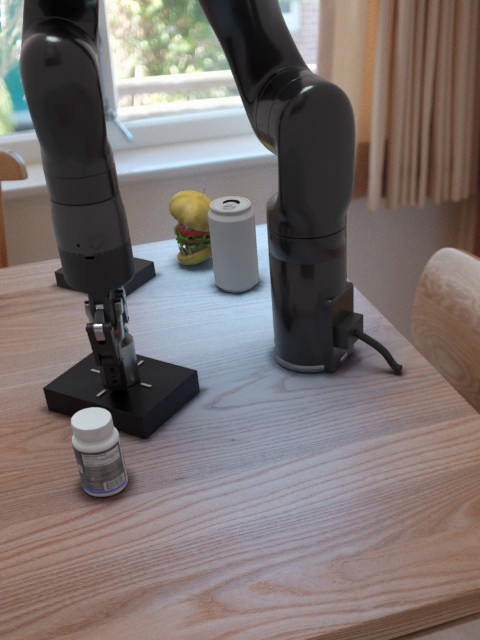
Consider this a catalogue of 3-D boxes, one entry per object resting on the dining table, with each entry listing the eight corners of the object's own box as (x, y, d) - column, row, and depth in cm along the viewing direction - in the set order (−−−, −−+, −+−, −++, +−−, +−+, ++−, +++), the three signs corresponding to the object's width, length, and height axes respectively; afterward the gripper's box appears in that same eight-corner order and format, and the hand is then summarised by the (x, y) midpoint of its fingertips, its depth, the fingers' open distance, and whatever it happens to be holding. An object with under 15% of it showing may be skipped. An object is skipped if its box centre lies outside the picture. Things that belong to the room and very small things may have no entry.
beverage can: (262, 275, 133) (257, 194, 125) (255, 295, 128) (249, 212, 121) (220, 274, 134) (212, 193, 126) (211, 294, 129) (202, 211, 121)
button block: (156, 275, 134) (152, 249, 131) (118, 300, 127) (113, 274, 125) (96, 261, 137) (91, 236, 135) (57, 285, 131) (51, 259, 129)
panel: (200, 391, 109) (197, 368, 107) (146, 439, 101) (141, 416, 99) (106, 365, 114) (102, 343, 112) (48, 409, 106) (42, 386, 104)
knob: (138, 387, 104) (130, 346, 101) (99, 389, 104) (90, 348, 100) (141, 367, 108) (134, 327, 104) (103, 369, 107) (95, 329, 104)
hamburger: (186, 250, 140) (176, 172, 133) (230, 253, 139) (223, 175, 131) (169, 271, 134) (157, 191, 127) (215, 275, 133) (207, 194, 126)
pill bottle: (86, 471, 97) (70, 405, 92) (130, 469, 97) (117, 403, 92) (80, 499, 93) (63, 432, 88) (126, 497, 94) (112, 429, 88)
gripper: (66, 211, 100) (95, 348, 111) (45, 267, 89) (79, 413, 100) (135, 208, 100) (156, 345, 111) (122, 263, 89) (148, 409, 100)
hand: (120, 376), depth 106 cm, fingers closed on knob, 4 cm apart
